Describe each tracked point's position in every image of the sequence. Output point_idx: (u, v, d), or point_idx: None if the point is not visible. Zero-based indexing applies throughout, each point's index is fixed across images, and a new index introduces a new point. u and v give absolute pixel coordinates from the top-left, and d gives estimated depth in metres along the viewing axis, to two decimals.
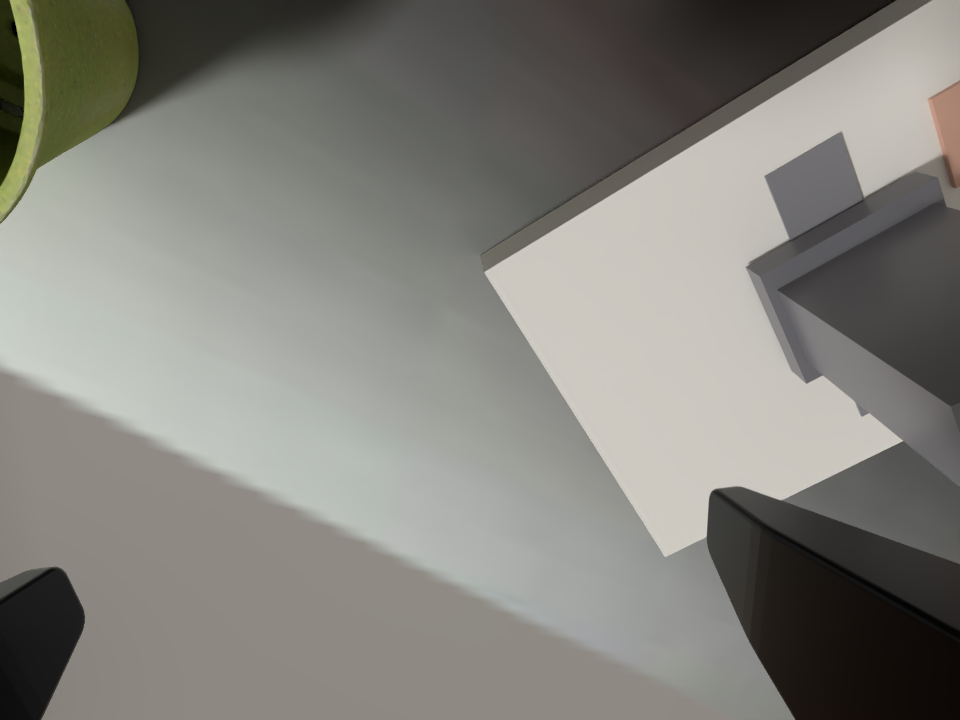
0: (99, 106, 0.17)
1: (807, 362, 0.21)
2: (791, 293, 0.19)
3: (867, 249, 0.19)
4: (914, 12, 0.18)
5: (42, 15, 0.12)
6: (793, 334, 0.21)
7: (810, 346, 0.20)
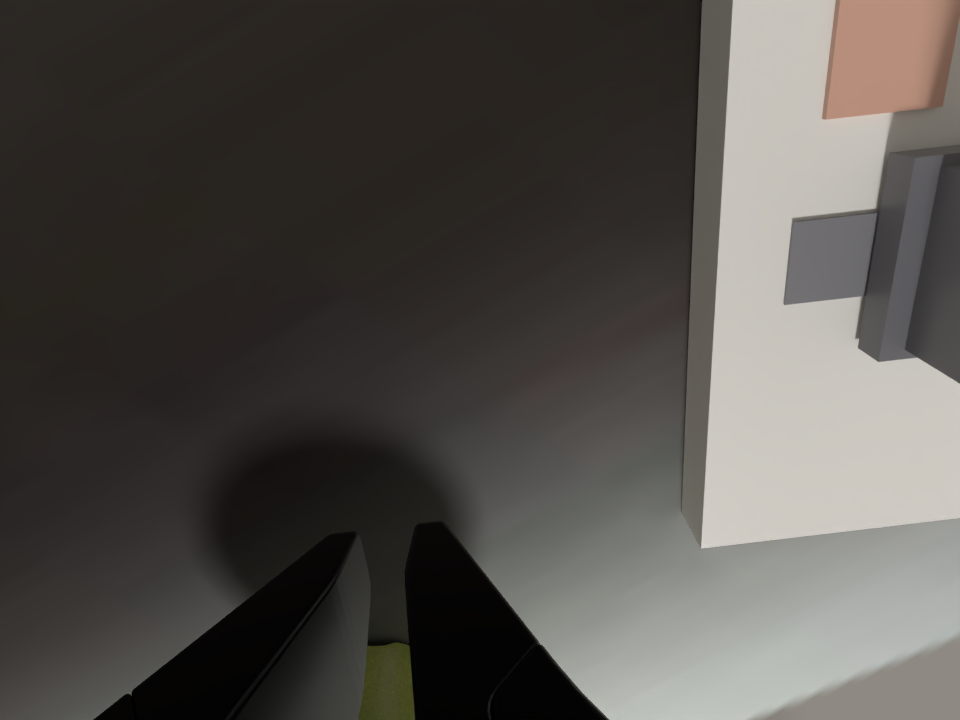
0: None
1: None
2: (920, 352, 0.18)
3: (935, 264, 0.17)
4: (727, 118, 0.16)
5: None
6: None
7: None
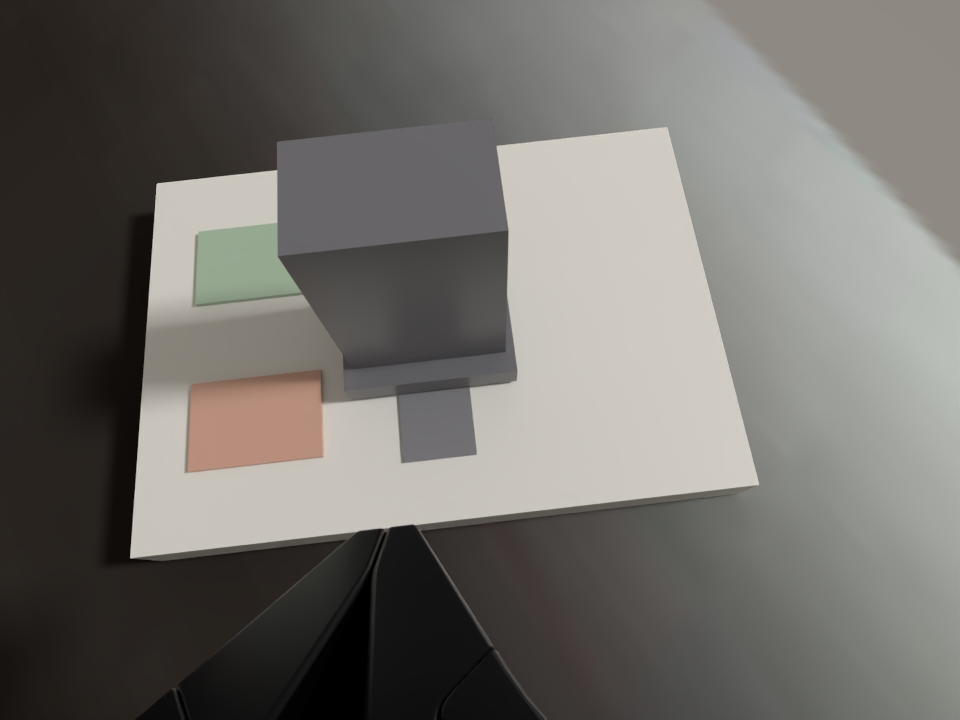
0: None
1: None
2: (500, 345, 0.20)
3: (423, 356, 0.20)
4: (317, 535, 0.20)
5: None
6: None
7: None
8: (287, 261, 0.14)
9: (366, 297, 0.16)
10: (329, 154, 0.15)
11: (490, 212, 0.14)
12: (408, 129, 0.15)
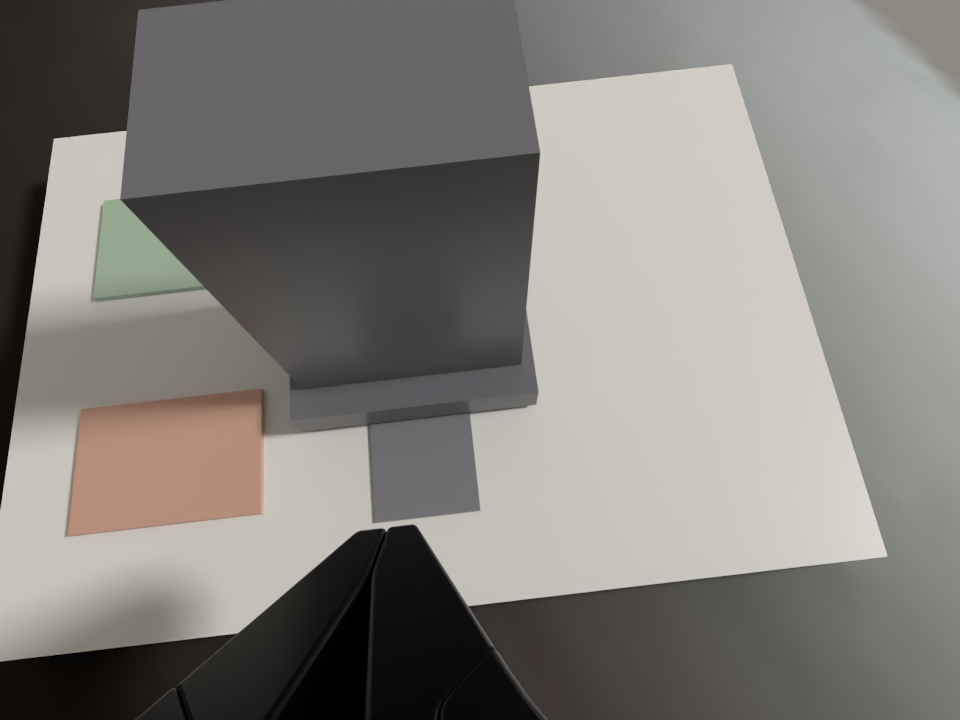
0: None
1: None
2: (514, 355, 0.14)
3: (403, 370, 0.14)
4: None
5: None
6: None
7: None
8: (144, 212, 0.08)
9: (301, 280, 0.10)
10: (226, 29, 0.08)
11: (507, 121, 0.08)
12: None
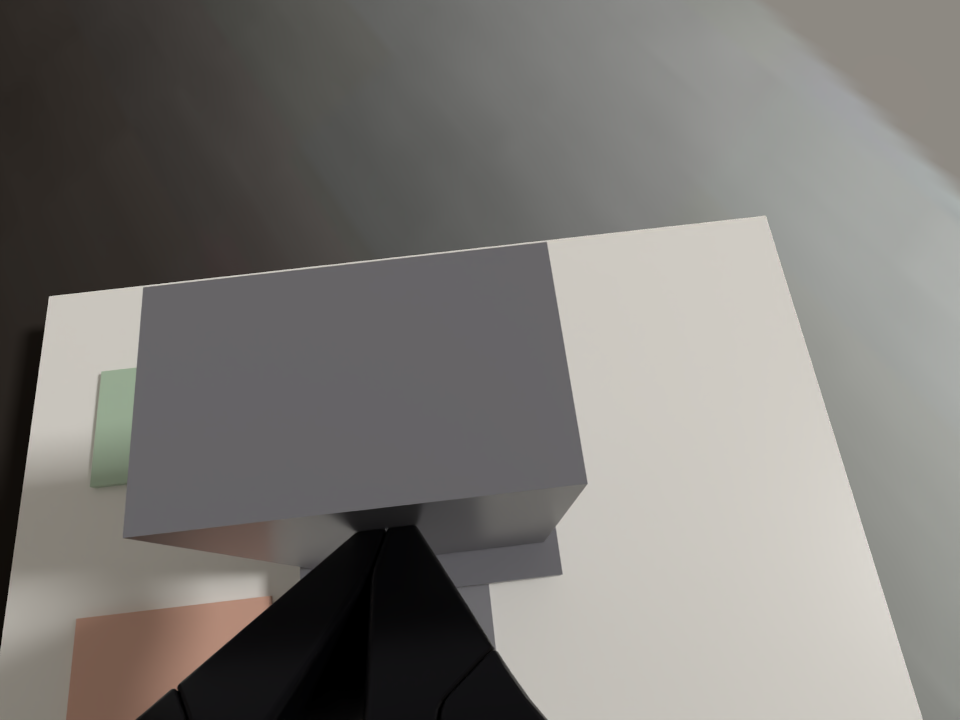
0: None
1: None
2: (537, 539, 0.13)
3: None
4: None
5: None
6: None
7: None
8: (149, 538, 0.07)
9: (318, 541, 0.09)
10: (239, 313, 0.08)
11: (550, 441, 0.07)
12: (389, 263, 0.08)
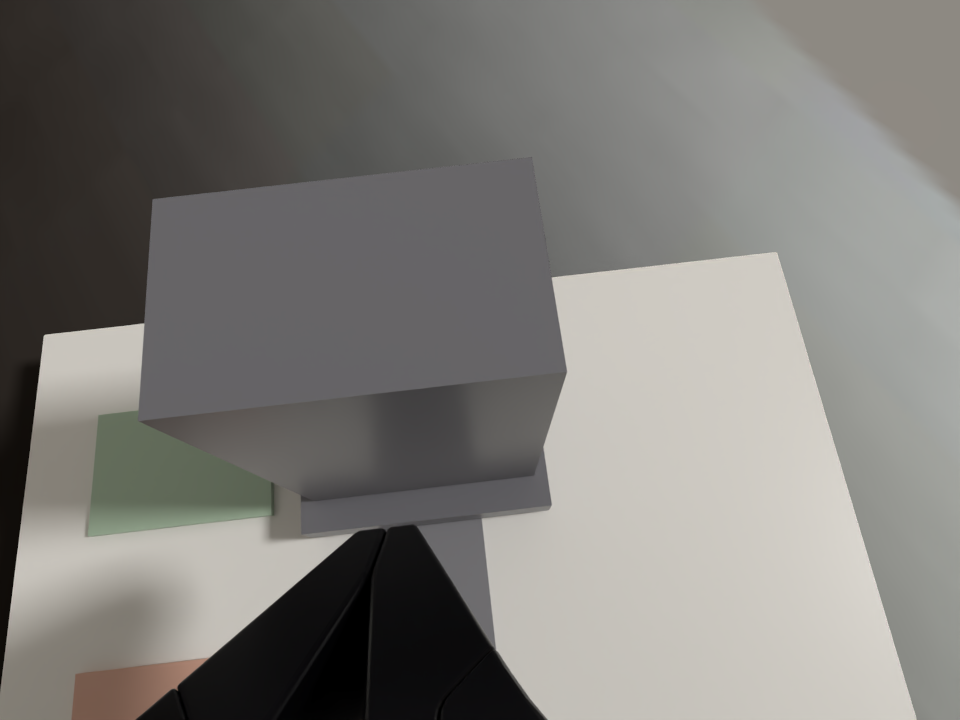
0: None
1: None
2: (527, 471, 0.14)
3: (416, 486, 0.14)
4: None
5: None
6: None
7: None
8: (160, 425, 0.08)
9: (318, 449, 0.10)
10: (243, 222, 0.08)
11: (532, 334, 0.08)
12: (383, 176, 0.08)
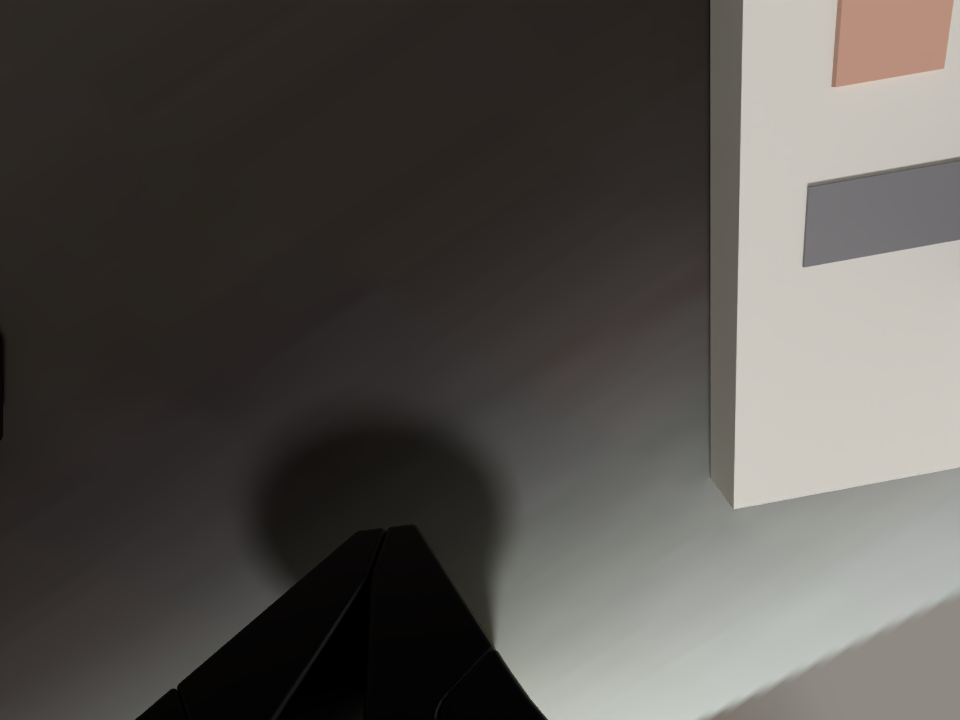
0: None
1: None
2: None
3: None
4: (742, 91, 0.17)
5: None
6: None
7: None
8: None
9: None
10: None
11: None
12: None
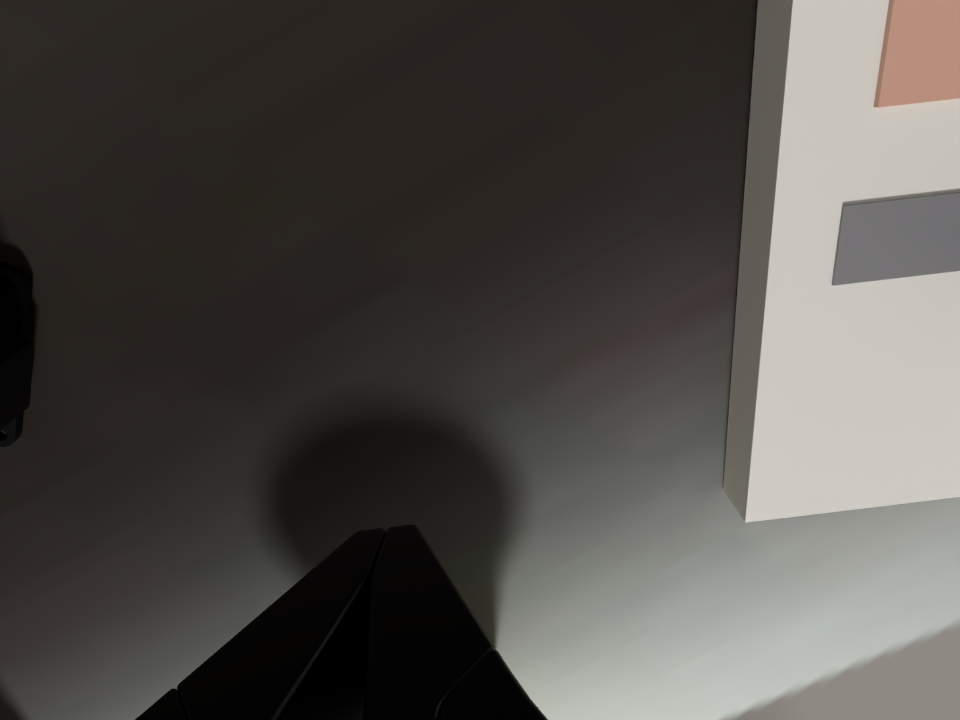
0: None
1: None
2: None
3: None
4: (784, 106, 0.17)
5: None
6: None
7: None
8: None
9: None
10: None
11: None
12: None
